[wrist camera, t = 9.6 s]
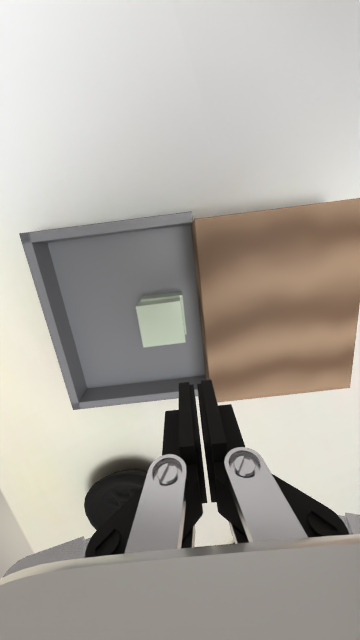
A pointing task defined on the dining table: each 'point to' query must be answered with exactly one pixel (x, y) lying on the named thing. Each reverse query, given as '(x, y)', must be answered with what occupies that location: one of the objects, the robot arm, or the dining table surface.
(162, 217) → the bin
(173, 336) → the tile
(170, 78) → the dining table surface
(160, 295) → the tile
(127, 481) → the oil lamp
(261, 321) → the brown wooden box
